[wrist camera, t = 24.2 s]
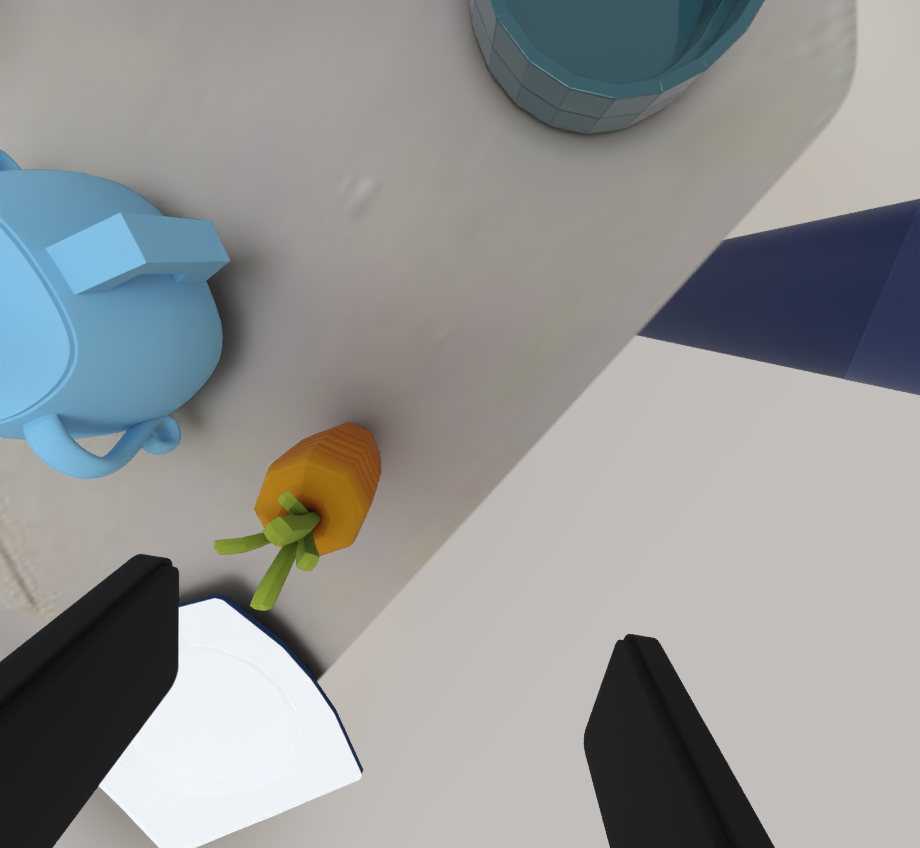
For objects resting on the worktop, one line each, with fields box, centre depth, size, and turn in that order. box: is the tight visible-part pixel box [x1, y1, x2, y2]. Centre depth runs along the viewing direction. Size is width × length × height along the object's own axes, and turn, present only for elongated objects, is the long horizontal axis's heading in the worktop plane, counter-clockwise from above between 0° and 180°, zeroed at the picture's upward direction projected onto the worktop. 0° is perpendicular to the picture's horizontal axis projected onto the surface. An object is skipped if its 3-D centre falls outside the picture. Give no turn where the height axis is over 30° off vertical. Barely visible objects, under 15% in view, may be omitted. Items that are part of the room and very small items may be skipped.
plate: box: [99, 594, 363, 848], centre depth 34 cm, size 20×20×3 cm
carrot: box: [214, 422, 381, 611], centre depth 22 cm, size 5×5×15 cm
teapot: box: [0, 150, 230, 479], centre depth 21 cm, size 20×17×12 cm
